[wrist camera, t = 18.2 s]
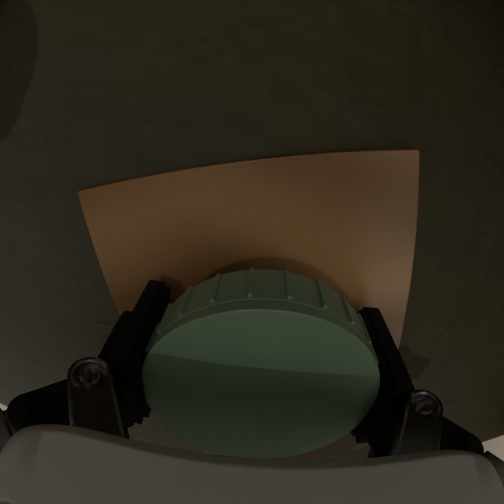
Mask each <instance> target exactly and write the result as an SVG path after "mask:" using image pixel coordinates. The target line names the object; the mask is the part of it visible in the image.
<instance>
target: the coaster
mask: <svg viewBox="0 0 504 504" xmlns="http://www.w3.org/2000/svg"><path fill="white" fill-rule="evenodd" d="M418 193H419V150H418V149H415V148H389V149H359V150H340V151H324V152H311V153H299V154H288V155H277V156H268V157H259V158H250V159H242V160H235V161H227V162H220V163H213V164H206V165H200V166H193V167H187V168H181V169H175V170H169V171H164V172H158V173H153V174H148V175H143V176H138V177H133V178H128V179H123V180H118V181H114V182H109V183H105V184H100V185H96V186H92V187H88V188H83V189H81V190H79V191H78V195H79V199H80V203H81V206H82V210H83V213H84V217H85V220H86V223H87V227H88V230H89V233H90V236H91V240H92V243H93V246H94V249H95V252H96V255H97V258H98V261H99V264H100V266H101V269H102V272H103V275H104V277H105V280H106V283H107V286H108V288H109V291H110V293H111V296H112V299H113V301H114V304H115V306H116V309H117V311H118V313H119V316H121V314H122V313H123V311H125V310H126V311H133V309H134V307H135V305H136V303H137V301H138V300H139V298H140V296H141V294H142V292H143V291H144V289H145V287H146V285H147V283H148V282H149V280H156V281H163V282H165V284H166V286H169V287H170V303H171V304H173V303H174V302H175V301H176V300H177V299H178V298H179V297H180V296H181V295H182V294H184V293H185V292H186V291H187V289H188V287H189V286H192V287H194V286H196V285H198V284H200V283H201V282H203V281H205V280H208V279H211V278H213V277H216V274H219V273H220V275H223V274H227V273H231V272H235V271H243V270H250V268H254V270H278V271H285V270H289V272H290V273H295V274H299V275H303V276H305V277H308V278H311V279H314V280H316V279H319V280H320V281H321V283H322V284H324V285H326V286H328V287H330V288H331V289H333V290H334V291H335V292H337V293H338V294H340V295H342V294H343V295H345V297H346V300H347V302H348V303H349V304H350V305H351V306H352V307H353V309H354V310H355V312H356V313H357V312H358V311H359V310H362V309H363V307H374V308H379V310H380V312H381V314H382V316H383V318H384V320H385V322H386V325H387V327H388V329H389V331H390V333H391V335H392V338H393V340H394V342H395V344H396V346H397V348H398V349H399V344H400V339H401V334H402V329H403V324H404V319H405V313H406V308H407V302H408V295H409V289H410V282H411V275H412V267H413V259H414V249H415V239H416V227H417V213H418Z"/></svg>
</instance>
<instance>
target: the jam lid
mask: <svg viewBox="0 0 504 504" xmlns="http://www.w3.org/2000/svg"><path fill="white" fill-rule="evenodd" d="M146 353H147V355H146V358H145V360H144V363H143V366H142V379H143V385H144V392H145V398H146V402H147V404H148V406H149V407H150V409H151V411H152V412H153V413H154V415H155V416H156V417H157V418H158V419H159V420H160V421H161V422H162V423H163V424H164V425H165V426H166V427H167V428H168V429H170V430H171V431H172V432H173V433H175V434H176V435H178V436H180V437H181V438H183V439H184V440H186V441H188V442H190V443H192V444H194V445H197V446H199V447H201V448H204V449H207V450H210V451H213V452H216V453H220V454H224V455H229V456H235V457H242V458H255V459H268V458H281V457H289V456H294V455H299V454H303V453H307V452H310V451H314V450H316V449H319V448H322V447H324V446H327V445H329V444H331V443H333V442H335V441H337V440H338V439H340V438H342V437H343V436H345V435H346V434H348V433H349V432H350V431H352V430H353V429H354V428H355V427H357V426H358V425H359V424H360V423H361V422H362V420H363V419H364V418H365V416H366V414H367V413H368V411H369V410H370V408H371V407H372V405H373V403H374V402H375V400H376V398H377V396H378V392H379V387H380V373H379V368H378V359H377V356H376V354H375V351H374V348H373V346H372V342H371V339H370V337H369V334H368V331H367V329H366V326H365V324H364V321H363V319H362V317H361V314H360V313H358V314H357V313H356V312H355V310H354V309H353V307H352V306H351V305H350V304H349V303H348V302H347V300H346V297H345V295H343V294H342V295H340V294H338V293H337V292H335V291H334V290H333V289H331V288H330V287H328V286H326V285H324V284H322V283H321V281H320V280H319V279H316V280H314V279H311V278H308V277H305V276H303V275H299V274H295V273H290V272H289V270H285V271H278V270H254V268H250V270H243V271H235V272H231V273H227V274H223V275H220V273H219V274H216V277H213V278H211V279H208V280H205V281H203V282H201V283H200V284H198V285H196V286H194V287H192V286H189V287H188V289H187V291H186V292H185V293H184V294H182V295H181V296H180V297H179V298H178V299H177V300H176V301H175V302H174V303H173V304H171V303H169V304H168V306H167V308H166V311H165V313H164V315H163V317H162V320H161V322H160V323H157V325H156V327H155V330H154V332H153V334H152V336H151V339H150V341H149V343H148V345H147V348H146Z"/></svg>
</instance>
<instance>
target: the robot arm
mask: <svg viewBox="0 0 504 504" xmlns="http://www.w3.org/2000/svg"><path fill="white" fill-rule="evenodd" d="M169 303H170V287H169V286H166V284H165V282H163V281H156V280H149V282H148V283H147V285H146V287H145V289H144V291H143V292H142V294H141V296H140V298H139V300H138V301H137V303H136V305H135V307H134V309H133V311H126V310H125V311H123V313H122V314H121V316H120V318H119V320H118V321H117V323H116V325H115V327H114V328H113V330H112V332H111V334H110V336H109V337H108V339H107V341H106V343H105V345H104V347H103V348H102V350H101V352H100V354H99V356H98V358H95V357H86V358H82V359H80V360H77V361H76V362H74V363H73V364H72V365H71V367H70V368H69V370H68V375H67V379H65V380H62V381H59V382H57V383H54V384H51V385H48V386H45V387H42V388H39V389H36V390H33V391H30V392H27V393H24V394H21V395H19V396H17V397H15V398H14V399H13V400H12V401H11V402H10V404H9V405H8V408H7V410H5V411H2V409H1V408H0V504H504V461H502V460H501V459H499V458H498V457H496V456H495V455H493V454H491V453H490V452H489V451H486V452H485V453H484V449H483V445H482V443H481V441H480V440H479V439H478V438H477V437H476V436H475V435H473V434H471V433H470V432H468V431H466V430H465V429H463V428H461V427H460V426H458V425H456V424H455V423H453V422H452V421H450V420H448V419H447V418H445V417H443V406H442V403H441V401H440V400H439V398H438V397H437V396H436V395H434V394H433V393H431V392H429V391H427V390H416V391H415V388H414V386H413V383H412V381H411V379H410V376H409V374H408V371H407V369H406V367H405V364H404V362H403V360H402V357H401V355H400V353H399V351H398V348H397V346H396V344H395V342H394V340H393V338H392V335H391V333H390V331H389V329H388V327H387V325H386V322H385V320H384V318H383V316H382V314H381V312H380V310H379V308H374V307H363V309H362V310H359V311H358V312H357V314H358V313H360V314H361V317H362V319H363V321H364V324H365V326H366V329H367V331H368V334H369V337H370V339H371V342H372V346H373V348H374V351H375V354H376V356H377V359H378V368H379V373H380V387H379V392H378V396H377V398H376V400H375V402H374V403H373V405H372V407H371V408H370V410H369V411H368V413H367V414H366V416H365V418H364V419H363V420H362V422H361V423H360V424H359V425H358V426H357V427H355V428H354V429H353V430H352V431H351V434H352V435H353V436H356V442H357V443H369V445H370V446H371V448H370V451H369V454H368V457H367V458H363V459H349V460H321V461H293V460H267V459H252V458H240V457H230V456H221V455H213V454H205V453H199V452H192V451H186V450H180V449H175V448H169V447H164V446H159V445H154V444H150V443H145V442H140V441H136V440H132V439H130V437H129V433H128V427H131V426H133V425H134V423H138V424H142V420H143V417H149V414H150V411H151V409H150V407H149V406H148V404H147V402H146V398H145V392H144V385H143V379H142V366H143V363H144V360H145V358H146V355H147V353H146V348H147V345H148V343H149V341H150V339H151V336H152V334H153V332H154V330H155V327H156V325H157V323H160V322H161V320H162V317H163V315H164V313H165V311H166V308H167V306H168V304H169Z"/></svg>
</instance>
